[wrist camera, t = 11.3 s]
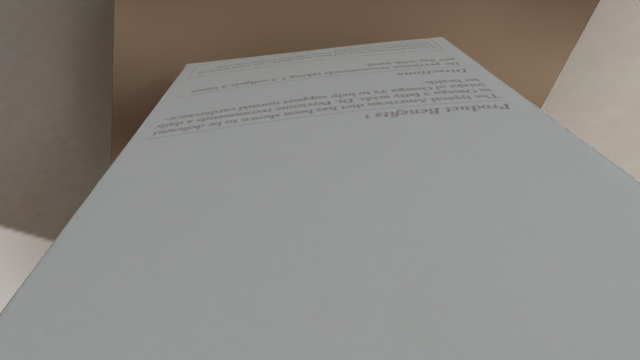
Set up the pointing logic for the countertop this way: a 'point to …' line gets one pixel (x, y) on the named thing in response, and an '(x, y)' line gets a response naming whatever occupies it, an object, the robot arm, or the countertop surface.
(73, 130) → the countertop surface
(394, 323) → the supplement box
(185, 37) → the walnut block
